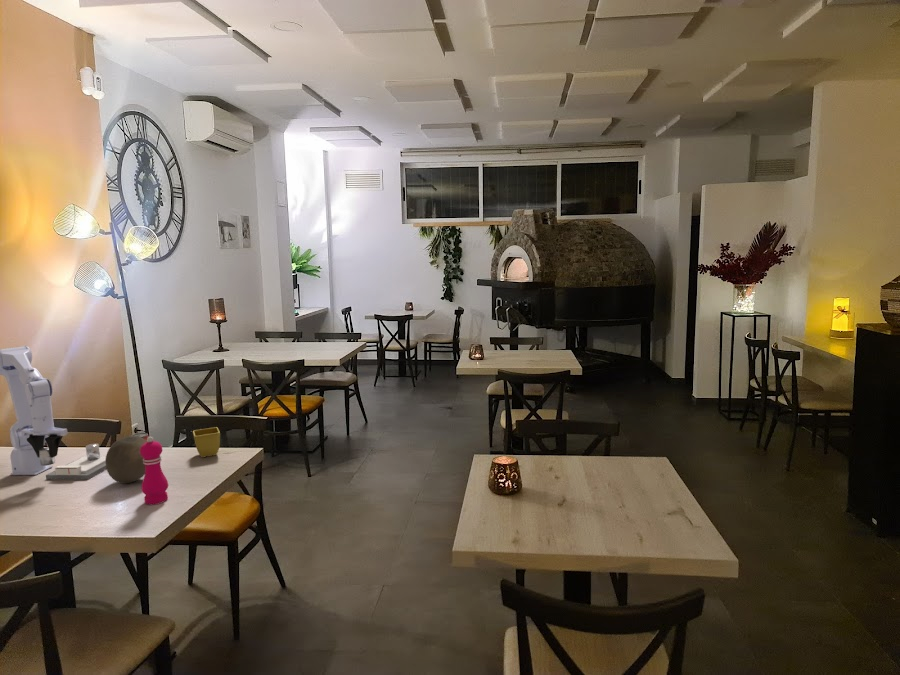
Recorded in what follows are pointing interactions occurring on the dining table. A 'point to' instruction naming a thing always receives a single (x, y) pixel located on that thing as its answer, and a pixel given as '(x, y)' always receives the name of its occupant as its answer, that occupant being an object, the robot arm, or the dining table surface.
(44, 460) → the cylinder
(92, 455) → the cylinder
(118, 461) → the cantaloupe
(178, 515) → the dining table surface
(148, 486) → the pepper mill
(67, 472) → the scale
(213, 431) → the flower pot
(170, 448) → the dining table surface
